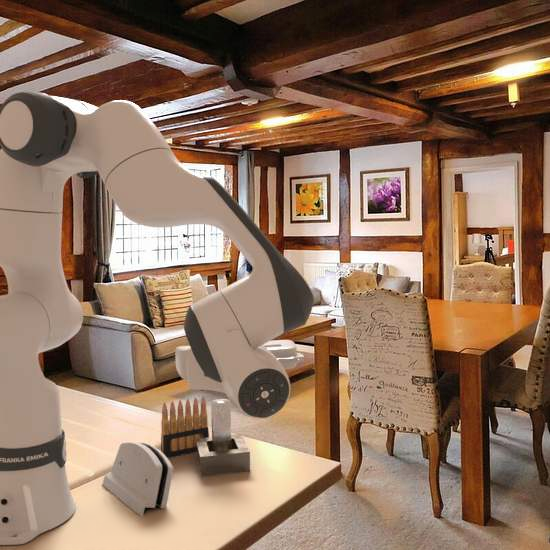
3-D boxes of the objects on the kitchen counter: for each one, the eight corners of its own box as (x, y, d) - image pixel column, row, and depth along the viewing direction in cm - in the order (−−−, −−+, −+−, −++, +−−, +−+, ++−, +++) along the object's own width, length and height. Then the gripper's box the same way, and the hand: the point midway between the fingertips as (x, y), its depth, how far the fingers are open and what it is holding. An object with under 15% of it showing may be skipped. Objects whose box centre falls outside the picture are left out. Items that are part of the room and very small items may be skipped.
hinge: (101, 483, 111) (115, 432, 113) (123, 484, 114) (136, 434, 116) (141, 516, 98) (157, 458, 100) (164, 516, 101) (179, 460, 103)
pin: (213, 462, 117) (212, 405, 116) (211, 455, 121) (210, 399, 120) (233, 460, 118) (231, 403, 117) (230, 453, 122) (228, 398, 121)
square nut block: (200, 476, 114) (200, 456, 113) (196, 456, 123) (195, 438, 123) (250, 470, 116) (249, 451, 116) (241, 451, 126) (241, 434, 125)
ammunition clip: (163, 458, 123) (161, 404, 122) (160, 455, 124) (158, 402, 123) (210, 449, 128) (208, 396, 127) (207, 446, 129) (205, 394, 128)
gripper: (307, 341, 91) (286, 326, 105) (177, 349, 87) (173, 332, 100) (308, 379, 92) (286, 360, 105) (179, 390, 87) (174, 368, 101)
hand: (230, 346), depth 103 cm, fingers open, 8 cm apart
